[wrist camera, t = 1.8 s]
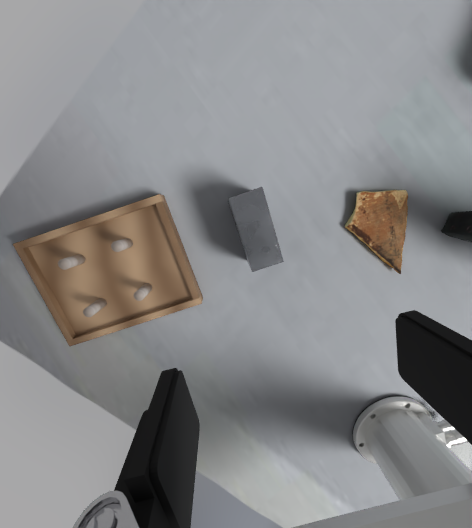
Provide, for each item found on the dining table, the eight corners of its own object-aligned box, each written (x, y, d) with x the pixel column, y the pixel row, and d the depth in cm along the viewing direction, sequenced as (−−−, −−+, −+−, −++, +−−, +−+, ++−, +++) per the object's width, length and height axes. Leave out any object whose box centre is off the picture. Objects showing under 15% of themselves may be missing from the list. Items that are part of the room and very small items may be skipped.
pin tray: (163, 195, 28) (153, 192, 24) (202, 297, 31) (199, 310, 27) (27, 241, 29) (-6, 246, 25) (79, 338, 32) (57, 356, 28)
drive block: (254, 191, 29) (262, 186, 23) (272, 252, 31) (283, 261, 25) (227, 200, 29) (228, 198, 23) (247, 260, 31) (252, 271, 25)
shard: (393, 271, 32) (402, 274, 31) (339, 274, 32) (345, 278, 30) (401, 190, 30) (412, 188, 28) (343, 192, 30) (350, 191, 28)
